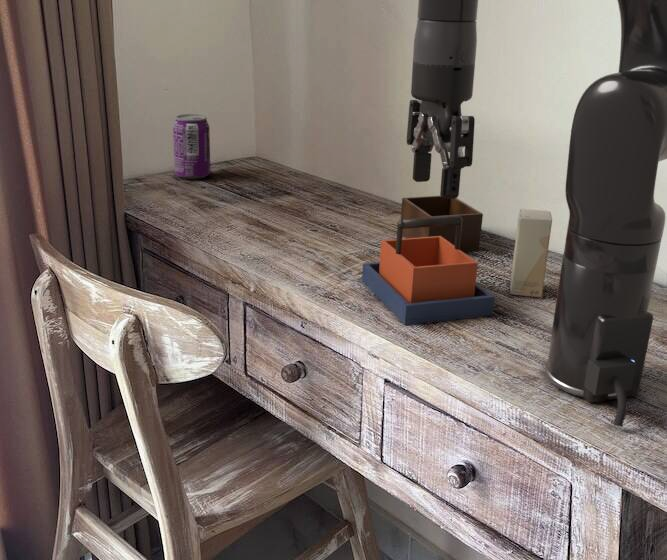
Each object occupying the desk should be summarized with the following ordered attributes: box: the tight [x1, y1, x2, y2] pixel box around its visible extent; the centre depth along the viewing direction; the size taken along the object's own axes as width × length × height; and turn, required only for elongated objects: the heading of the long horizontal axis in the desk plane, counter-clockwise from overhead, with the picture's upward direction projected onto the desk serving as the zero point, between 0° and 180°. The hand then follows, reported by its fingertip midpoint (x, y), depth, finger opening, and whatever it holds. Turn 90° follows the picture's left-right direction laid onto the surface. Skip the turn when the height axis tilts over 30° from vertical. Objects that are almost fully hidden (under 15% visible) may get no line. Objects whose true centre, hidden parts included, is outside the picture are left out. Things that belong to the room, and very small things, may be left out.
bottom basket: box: [400, 195, 484, 252], centre depth 131 cm, size 11×9×6 cm
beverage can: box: [172, 113, 211, 180], centre depth 162 cm, size 7×7×12 cm
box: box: [509, 208, 553, 298], centre depth 112 cm, size 5×4×11 cm
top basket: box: [379, 216, 479, 303], centre depth 108 cm, size 11×9×11 cm
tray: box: [361, 261, 496, 326], centre depth 109 cm, size 15×12×3 cm
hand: (434, 189), depth 104 cm, fingers open, 8 cm apart
